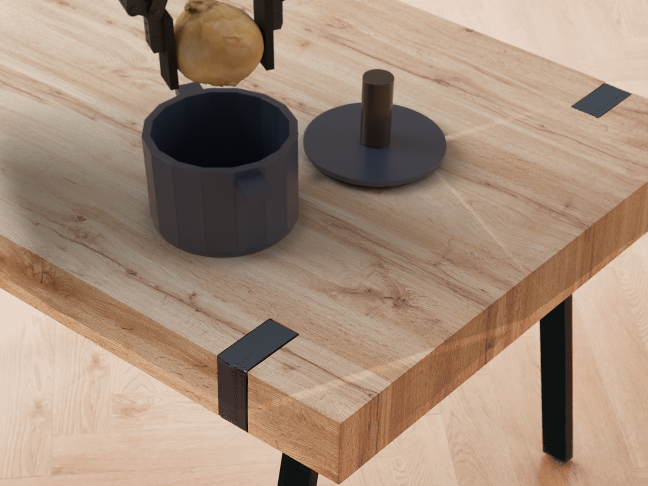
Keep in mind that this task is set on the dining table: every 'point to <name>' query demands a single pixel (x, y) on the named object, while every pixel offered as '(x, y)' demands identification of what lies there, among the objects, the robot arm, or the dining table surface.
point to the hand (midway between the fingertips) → (218, 72)
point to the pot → (221, 170)
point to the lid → (375, 138)
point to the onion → (216, 43)
